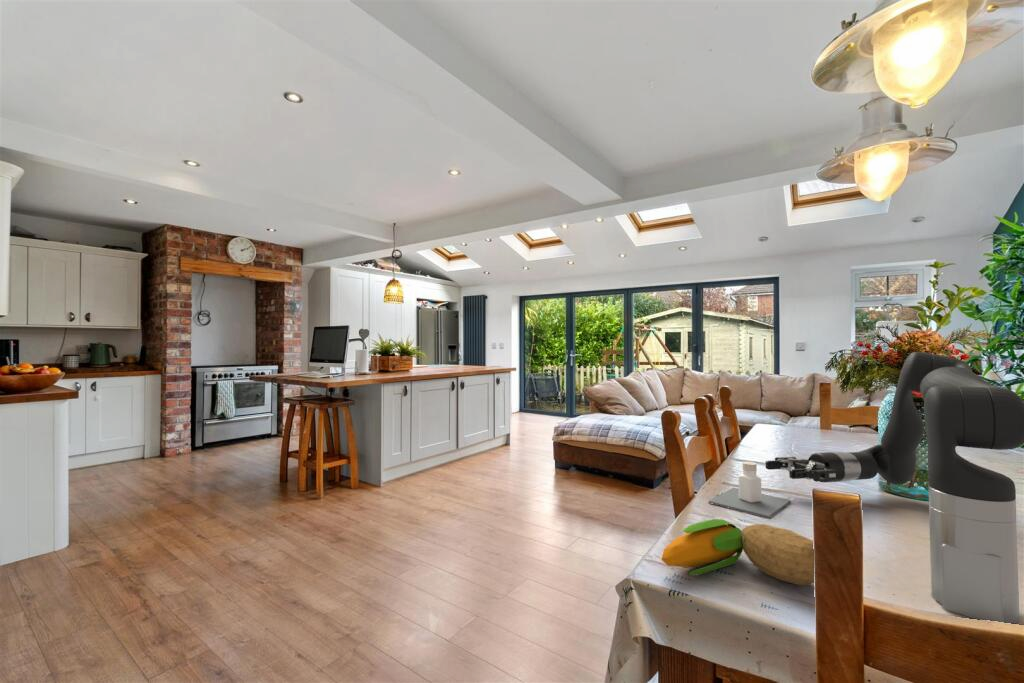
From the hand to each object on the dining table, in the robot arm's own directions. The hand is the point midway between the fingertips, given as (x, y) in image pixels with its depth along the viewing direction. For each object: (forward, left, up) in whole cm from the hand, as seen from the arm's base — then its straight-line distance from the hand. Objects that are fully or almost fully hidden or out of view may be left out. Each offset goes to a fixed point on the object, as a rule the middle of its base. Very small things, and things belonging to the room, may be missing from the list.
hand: (778, 469), depth 114 cm
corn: (-48, -2, -8) cm, 49 cm away
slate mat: (-7, +5, -8) cm, 12 cm away
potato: (-42, -13, -8) cm, 45 cm away
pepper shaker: (-7, +5, -8) cm, 11 cm away
